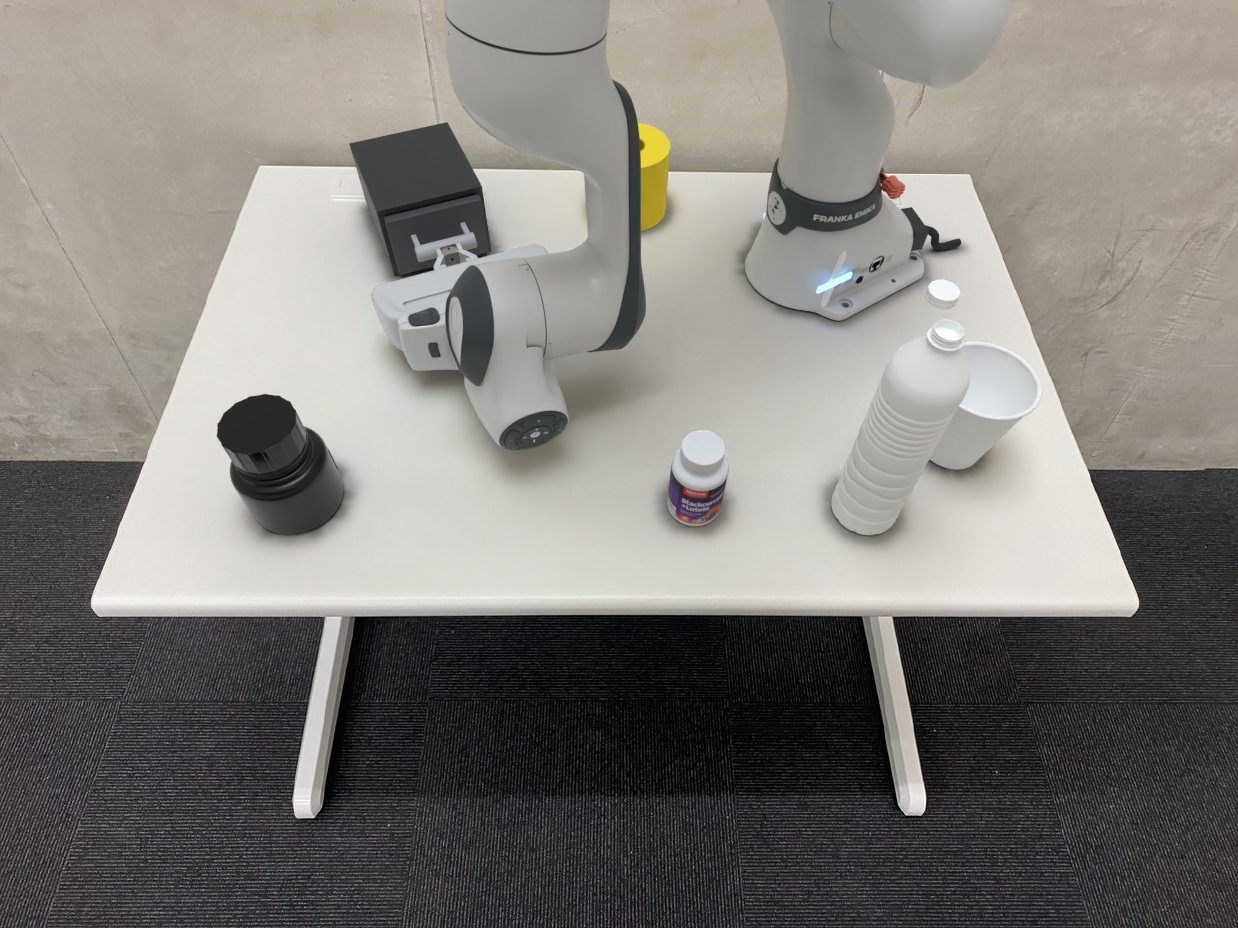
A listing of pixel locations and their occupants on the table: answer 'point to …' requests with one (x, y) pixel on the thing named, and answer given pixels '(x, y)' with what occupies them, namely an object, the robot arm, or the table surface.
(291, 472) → the ink bottle
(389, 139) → the cabinet
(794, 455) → the table surface
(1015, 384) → the cup
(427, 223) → the drawer
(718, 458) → the pill bottle
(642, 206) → the yellow toilet paper roll
